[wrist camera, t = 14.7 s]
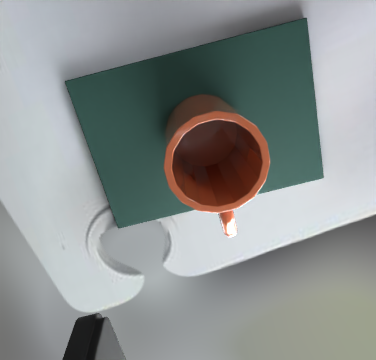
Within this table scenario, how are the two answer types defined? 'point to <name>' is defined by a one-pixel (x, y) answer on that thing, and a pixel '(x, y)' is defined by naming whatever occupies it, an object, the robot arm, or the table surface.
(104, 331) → the robot arm
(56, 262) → the table surface
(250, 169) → the tea mug
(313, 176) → the mat
